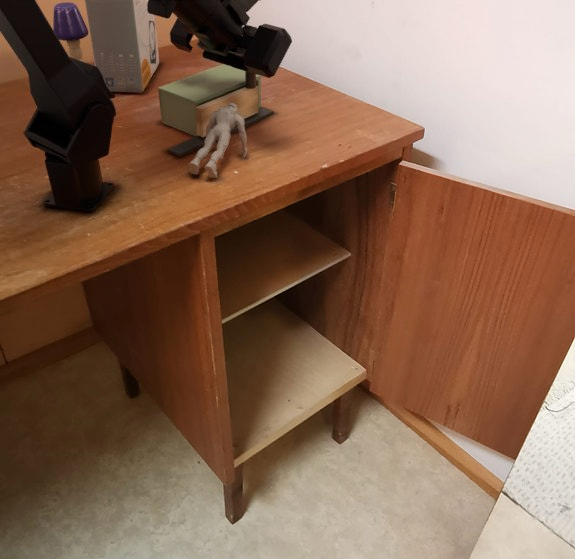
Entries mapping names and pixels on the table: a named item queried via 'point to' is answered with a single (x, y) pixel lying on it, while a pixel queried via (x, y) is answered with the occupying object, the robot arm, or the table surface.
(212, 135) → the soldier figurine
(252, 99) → the door
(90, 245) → the table surface
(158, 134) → the table surface
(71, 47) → the toy lamp
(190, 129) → the cabinet
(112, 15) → the hard drive box
